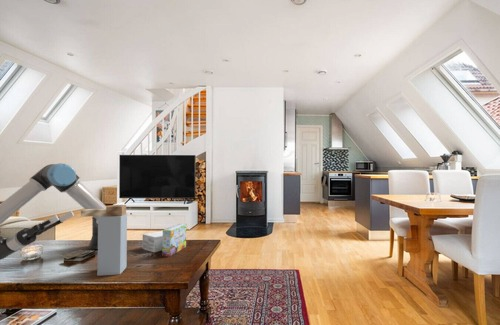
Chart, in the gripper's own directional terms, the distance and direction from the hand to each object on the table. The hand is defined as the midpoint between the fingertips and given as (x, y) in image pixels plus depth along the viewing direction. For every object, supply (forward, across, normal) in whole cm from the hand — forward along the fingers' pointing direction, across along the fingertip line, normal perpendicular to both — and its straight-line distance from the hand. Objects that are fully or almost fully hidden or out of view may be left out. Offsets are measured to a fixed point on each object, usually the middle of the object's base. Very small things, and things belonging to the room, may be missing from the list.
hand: (65, 215), depth 130 cm
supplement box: (+19, -38, -42) cm, 60 cm away
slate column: (+6, +1, -35) cm, 35 cm away
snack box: (+28, -28, -48) cm, 62 cm away
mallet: (+15, +1, -9) cm, 18 cm away
